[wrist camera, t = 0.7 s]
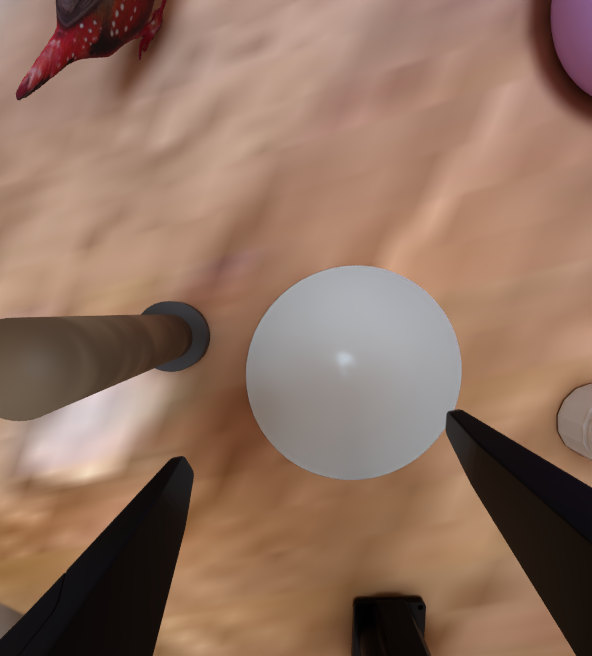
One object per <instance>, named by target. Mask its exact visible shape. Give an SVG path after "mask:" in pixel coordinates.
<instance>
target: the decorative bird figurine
mask: <svg viewBox="0 0 592 656" xmlns="http://www.w3.org/2000/svg"><path fill="white" fill-rule="evenodd" d="M154 1H155V0H56V12H57V28H56V30H55V33H54V35H53V36H52V38H51V39H50V40H49V42H48V44H47V46H46V47H45V48H44V49H43V51H42V52H41V54H40V56H39V57H38V58H37V59H36V61H35V63H34V64H33V66H32V67H31V69H30V70H29V71H28V73H27V75H26V76H25V77H24V78H23V80H22V82H21V84H20V86H19V88H18V90H17V92H16V98H17V100H21V99H22V98H26V97H27V96H29V95H31V94H32V93H33V92H35V90H37V89H39V88H40V87H41V86H42V85H44V84H45V83H46V82H47V81H48V80H49V79H51V78H52V77H54V76H55V75H56V74H57V73H58V72H60V71H61V70H62V69H63V68H65V67H66V66H67V65H68V64H70V63H72V62H75V61H77V60H80V59H87V58H99V57H101V58H103V57H109V56H111V55H112V54H114V53H115V52H116V51H117V50H118V49H119V48H120V47H122V46H123V45H124V44H126V43H128V42H129V41H131V40H133V39H137V38H139V37H140V36H143V38H142V40H141V41H140V45H139V60H140V59H141V52H142V49H143V51H144V52H146V50H147V48H148V45H149V43H150V41H151V40H152V39H153V37H154V35H155V33H156V32H157V31H158V30H159V28H160V26H161V23H162V13H163V9H164V6H165V3H166V0H163V1H162V4H161V7H160V8H159V9H157V10H155V11H154V12H153V13H152V15H151V18H150V20H149V22H147V21H148V19H149V17H150V14H151V11H152V8H153V5H154ZM144 45H145V46H144ZM143 46H144V48H143Z"/></svg>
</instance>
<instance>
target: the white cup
mask: <svg viewBox="0 0 592 656" xmlns="http://www.w3.org/2000/svg"><path fill="white" fill-rule="evenodd" d="M558 432H559V434H560V436H561V438H562V440H563V441H564V443H565V445H566V446H567V447H569V448H570V449H572V450H573V451H575V452H576V453H578V454H579V455H581V456H583V457H585V458H587V459H589V460H591V461H592V383H591V384H588V385H585V386H582V387H579V388H576V389H575V390H574V391H573V392H572V393H571V394H570V395H569V396H568V397H567V398H566V399H565V400H564V401H563V404H562V406H561V408H560V411H559V413H558Z"/></svg>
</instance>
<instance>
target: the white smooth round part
mask: <svg viewBox="0 0 592 656" xmlns="http://www.w3.org/2000/svg"><path fill="white" fill-rule="evenodd" d="M246 385H247V393H248V398H249V403H250V406H251V409H252V412H253V415H254V417H255V419H256V421H257V423H258V425H259V427H260V429H261V430H262V432H263V433H264V435H265V436H266V438H267V439H268V440H269V442H270V443H271V444H272V445H273V446H274V447H275V448H276V449H277V450H278V451H279V452H280V453H281V454H282V455H283V456H285V457H286V458H287V459H288V460H290V461H291V462H293V463H294V464H296V465H297V466H299V467H301V468H303V469H305V470H307V471H309V472H312V473H315V474H318V475H321V476H324V477H329V478H334V479H341V480H361V479H369V478H374V477H379V476H382V475H385V474H388V473H391V472H394V471H396V470H398V469H400V468H402V467H404V466H406V465H407V464H409V463H411V462H412V461H414V460H415V459H417V458H418V457H419V456H420V455H422V454H423V453H424V452H425V451H426V450H427V449H428V448H429V447H430V446H431V445H432V444H433V443H434V442H435V441H436V440H437V438H438V437H439V436H440V434H441V433H442V432H443V430H444V429H445V427H446V414H447V412H448V411H452V410H454V408H455V406H456V403H457V399H458V395H459V392H460V385H461V356H460V349H459V345H458V342H457V338H456V335H455V333H454V330H453V328H452V325H451V323H450V321H449V320H448V318H447V316H446V315H445V313H444V311H443V310H442V309H441V307H440V306H439V305H438V304H437V302H436V301H435V300H434V299H433V298H432V297H431V296H430V295H429V294H428V293H427V292H426V291H425V290H424V289H422V288H421V287H420V286H418V285H417V284H415V283H414V282H413V281H411V280H409V279H407V278H405V277H403V276H401V275H399V274H397V273H394V272H391V271H389V270H385V269H381V268H376V267H370V266H359V265H358V266H342V267H336V268H331V269H327V270H324V271H321V272H318V273H315V274H313V275H311V276H309V277H307V278H304V279H303V280H301V281H299V282H298V283H296V284H295V285H293V286H292V287H290V288H289V289H288V290H287V291H285V292H284V293H283V294H282V295H281V296H280V297H279V298H278V299H277V300H276V301H275V302H274V303H273V304H272V305H271V306H270V308H269V309H268V311H267V312H266V313H265V315H264V316H263V318H262V319H261V321H260V323H259V325H258V327H257V329H256V331H255V333H254V336H253V339H252V341H251V344H250V348H249V353H248V357H247V366H246Z"/></svg>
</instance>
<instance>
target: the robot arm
mask: <svg viewBox="0 0 592 656" xmlns="http://www.w3.org/2000/svg"><path fill="white" fill-rule="evenodd" d="M446 434H447V436H448V438H449V440H450V442H451V445H452V447H453V449H454V451H455V453H456V455H457V457H458V459H459V461H460V463H461V465H462V467H463V469H464V471H465V473H466V475H467V477H468V479H469V481H470V483H471V485H472V487H473V488H474V490H475V492H476V493H477V495H478V497H479V498H480V500H481V501H482V503H483V505H484V506H485V508H486V510H487V511H488V513H489V514H490V516H491V518H492V519H493V521H494V523H495V524H496V526H497V527H498V529H499V531H500V532H501V534H502V536H503V537H504V539H505V540H506V542H507V544H508V545H509V547H510V549H511V550H512V552H513V553H514V555H515V557H516V558H517V560H518V562H519V563H520V565H521V567H522V568H523V570H524V571H525V573H526V575H527V576H528V578H529V580H530V581H531V583H532V584H533V586H534V588H535V589H536V591H537V593H538V594H539V596H540V597H541V599H542V601H543V602H544V604H545V606H546V607H547V609H548V610H549V612H550V614H551V615H552V617H553V619H554V620H555V622H556V623H557V625H558V627H559V628H560V630H561V632H562V633H563V635H564V636H565V638H566V640H567V641H568V643H569V645H570V646H571V648H572V649H573V651H574V653H575V654H576V656H592V487H590V486H588V485H587V484H585V483H583V482H582V481H580V480H578V479H577V478H575V477H573V476H572V475H570V474H568V473H567V472H565V471H563V470H562V469H560V468H558V467H557V466H555V465H553V464H552V463H550V462H548V461H547V460H545V459H543V458H542V457H540V456H538V455H537V454H535V453H533V452H532V451H530V450H528V449H527V448H525V447H523V446H521V445H520V444H518V443H516V442H515V441H513V440H511V439H510V438H508V437H506V436H505V435H503V434H501V433H500V432H498V431H496V430H495V429H493V428H491V427H490V426H488V425H486V424H485V423H483V422H481V421H480V420H478V419H476V418H475V417H473V416H471V415H470V414H468V413H466V412H465V411H463V410H460V409H457V410H452V411H448V412H447V414H446ZM193 478H194V473H193V470H192V468H191V466H190V464H189V463H188V461H187V460H186V458H185V457H184V456H179V457H174V458H171V459H170V460H169V461H168V462H167V463H166V464H165V465H164V466H163V467H162V469H161V470H160V471H159V472H158V473H157V474H156V475H155V476H154V477H153V478H152V479H151V480H150V481H149V483H148V484H147V485H146V486H145V487H144V488H143V489H142V490H141V491H140V492H139V493H138V494H137V495H136V496H135V498H134V499H133V500H132V501H131V502H130V503H129V504H128V505H127V506H126V507H125V508H124V509H123V510H122V512H121V513H120V514H119V515H118V516H117V517H116V518H115V519H114V520H113V521H112V522H111V523H110V524H109V525H108V527H107V528H106V529H105V530H104V531H103V532H102V533H101V534H100V535H99V536H98V537H97V538H96V539H95V541H94V542H93V543H92V544H91V545H90V546H89V547H88V548H87V549H86V550H85V551H84V552H83V553H82V554H81V556H80V557H79V558H78V559H77V560H76V561H75V562H74V563H73V564H72V565H71V566H70V567H69V568H68V570H67V571H66V573H64V574H63V575H62V576H61V577H60V578H59V579H58V580H57V581H56V582H55V583H54V584H53V585H52V587H51V588H50V589H49V590H48V591H47V592H46V593H45V594H44V595H43V596H42V597H41V598H40V599H39V600H38V601H37V602H36V603H35V604H34V605H33V607H32V608H31V609H30V610H29V611H28V612H27V613H26V614H25V615H24V616H23V617H22V618H21V619H20V620H19V621H18V622H17V623H16V624H15V625H14V626H13V627H12V628H11V629H10V630H9V631H8V632H7V633H6V634H5V635H4V636H3V637H2V638H1V639H0V656H153V653H154V649H155V645H156V641H157V637H158V633H159V629H160V625H161V621H162V617H163V613H164V609H165V606H166V602H167V598H168V594H169V590H170V586H171V582H172V578H173V574H174V570H175V566H176V562H177V558H178V555H179V551H180V547H181V543H182V539H183V535H184V531H185V526H186V521H187V516H188V509H189V503H190V497H191V491H192V485H193ZM425 612H426V606H425V603H424V601H423V599H422V598H419V597H416V598H365V599H356V600H355V601H354V603H353V627H352V656H431V654H430V652H429V649H428V647H427V645H426V642H425V640H424V631H425Z"/></svg>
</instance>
